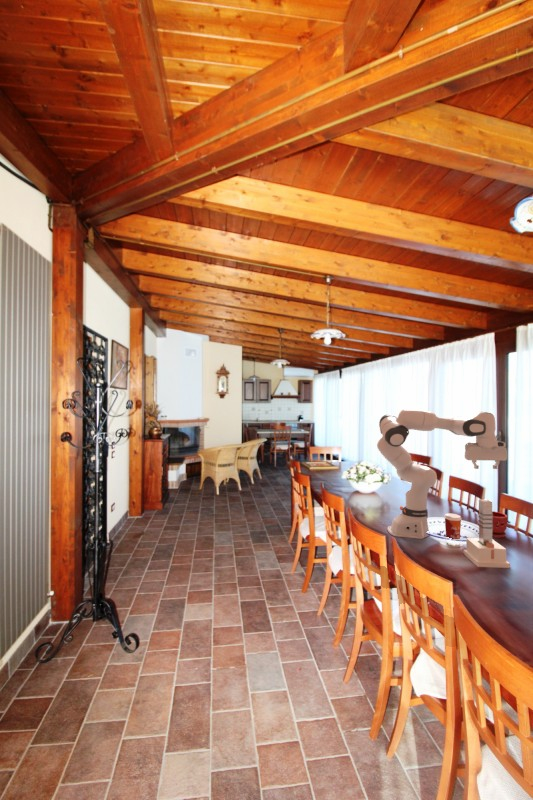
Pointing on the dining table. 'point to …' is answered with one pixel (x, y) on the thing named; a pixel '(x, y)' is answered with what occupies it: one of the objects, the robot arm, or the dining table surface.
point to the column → (485, 522)
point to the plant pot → (499, 524)
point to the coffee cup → (452, 525)
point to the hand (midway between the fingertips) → (485, 468)
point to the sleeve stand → (486, 554)
